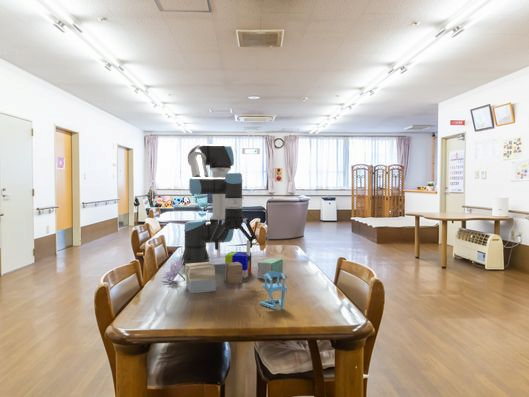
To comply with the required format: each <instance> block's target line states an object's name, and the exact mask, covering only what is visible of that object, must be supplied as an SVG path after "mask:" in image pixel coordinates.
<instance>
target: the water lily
mask: <svg viewBox="0 0 529 397" xmlns="http://www.w3.org/2000/svg"><path fill="white" fill-rule="evenodd" d="M181 260H182V256H180V257H179V260H178V259H177V260H176V261H175V264H174V263H172V264H171V265H170V267H169V268H170V270H169V271H167V272H164V276H163V277H162V278H161V279H163V280H164V279H166V281H168V280H169V282H168V283H167V284H168V285H169V284H172V282H173V281H174V280H175V278H176V277H177V276H178V275H179V276H180V277H181V278H182V279H183V280H184V281H186V277H184V275H182V274H181V273H180V271H181V269H182V267H183V265H184V264H183V261H184V259H183V261H182V262H181Z"/></svg>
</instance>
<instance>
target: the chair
mask: <svg viewBox="0 0 529 397" xmlns="http://www.w3.org/2000/svg"><path fill="white" fill-rule="evenodd" d="M271 277H275V278H276V283H273V279H271ZM280 277H281V278H282V280H283V281H282V283H280ZM266 278H268V279H266ZM263 280H264V284H262V288H263V289H265V290H266V293H267V294H268V295H269V296H268V297H269V298H270V299H269V300H262V301H260V302H259V303H260V304H259V305H261V306H264V307H266V306H267V308H269V307H270V308H269V309H271V310H274V309H275V310H274V311H277V310H278V306H277V304H276V303H278V305H280V306H279V308H280V309H281V310H284V309H285V307H284V305H285V297H286V296H285V295H286V291H287V290H288V287H287V286H286V285H285V283H286V280H287V278H286V276H285V274H284V273H280V272H275V271H270V272H268V273H266V274H265V275H264V279H263ZM268 282H269V283H268ZM274 292H281V299H278V298H277V299H274V297H273V294H272V293H274ZM283 308H284V309H283Z"/></svg>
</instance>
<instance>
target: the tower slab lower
mask: <svg viewBox="0 0 529 397" xmlns="http://www.w3.org/2000/svg"><path fill="white" fill-rule="evenodd" d="M185 281H186V282H185V283H186V286H185V287H186V289H187V290H188V291H189V293H190V294H198V293H206V292H215V291H216V278H215V279H211V280H200V281H189V279H188V278H187V277H186V276H185Z"/></svg>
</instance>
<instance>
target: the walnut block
mask: <svg viewBox="0 0 529 397" xmlns="http://www.w3.org/2000/svg"><path fill="white" fill-rule="evenodd" d="M224 264H225V265H224V266H225V268H224V269H225V270H224V275H225V277H224V278H225V279H224V281H225V282H226V283H227V284H228V285H232V284H233V285H234V284H242V283H243V277H242V264H240V263H239V262H232V263H224Z"/></svg>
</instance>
